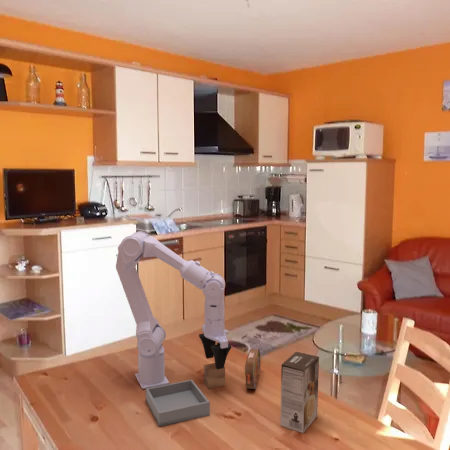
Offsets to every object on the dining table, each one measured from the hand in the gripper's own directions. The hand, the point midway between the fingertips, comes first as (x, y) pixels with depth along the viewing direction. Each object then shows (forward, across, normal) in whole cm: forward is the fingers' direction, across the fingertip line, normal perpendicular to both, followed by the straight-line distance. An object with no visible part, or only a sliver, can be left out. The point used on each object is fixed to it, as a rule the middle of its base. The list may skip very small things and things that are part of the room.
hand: (214, 362), depth 129 cm
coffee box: (+7, -26, -12) cm, 29 cm away
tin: (+7, -3, -11) cm, 13 cm away
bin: (+6, -8, +14) cm, 17 cm away
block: (+6, 0, 0) cm, 7 cm away
